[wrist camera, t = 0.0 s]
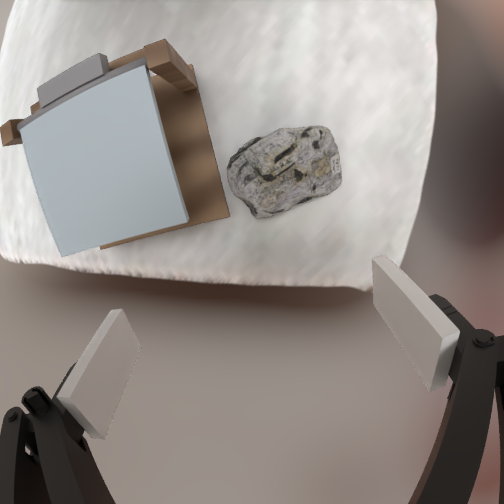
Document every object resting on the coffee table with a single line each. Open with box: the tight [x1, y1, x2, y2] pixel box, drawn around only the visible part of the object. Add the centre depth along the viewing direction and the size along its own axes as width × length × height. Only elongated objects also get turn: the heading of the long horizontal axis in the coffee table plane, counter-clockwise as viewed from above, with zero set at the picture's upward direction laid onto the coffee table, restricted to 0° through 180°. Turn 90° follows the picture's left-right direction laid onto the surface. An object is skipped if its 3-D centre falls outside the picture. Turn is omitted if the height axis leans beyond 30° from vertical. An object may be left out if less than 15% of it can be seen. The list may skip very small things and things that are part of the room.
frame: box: [0, 39, 230, 250], centre depth 31 cm, size 22×21×15 cm
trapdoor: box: [17, 53, 189, 257], centre depth 25 cm, size 19×17×2 cm
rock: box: [227, 126, 342, 218], centre depth 36 cm, size 15×10×7 cm
